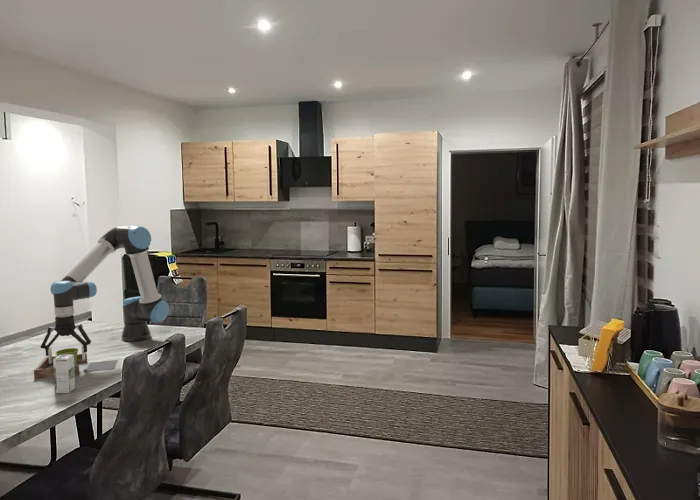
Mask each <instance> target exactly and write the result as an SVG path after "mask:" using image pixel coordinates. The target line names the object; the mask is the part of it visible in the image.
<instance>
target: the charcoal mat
mask: <svg viewBox="0 0 700 500" xmlns="http://www.w3.org/2000/svg"><path fill="white" fill-rule="evenodd" d="M117 362H118V359H116V360H115V359H113V360H103V361H95V362H94V361H93V362H90V363H88V366H87V367H86V369H85V371H84V373H87V372H97V371H98V372H99V371H106V370H114V369H115V368H116V365H117V364H118V363H117Z"/></svg>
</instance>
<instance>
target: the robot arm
mask: <svg viewBox="0 0 700 500" xmlns="http://www.w3.org/2000/svg"><path fill="white" fill-rule="evenodd" d="M151 242H152V235H151V232H150V231H149V229H147V228H146V227H144V226H141V225H140V226H139V225H117V226H115V227H113V228H111V229H110V230H108V231H107V232H106V233H105V234H104V235H102V236H101V237H100V238H99V239H98V240H97V244H96V245H95V246H94V247H93V248H91V250H90V251H89V252H88V253H87V254H86V255H85V256H84V257H83V258H82V259H81V260H80V261H79V262H78V263H77V264H76V265H75V266H74V267H73V268H72V269H71V270H70V271H69V272H68V273H67V274H66V275H65V276H64V277H63V278H62V279H61V280H57V281H54V282H52V284H51V286H50V287H49V288H50V293H51V294H52V296H53V303H54V316H55V317H54V319H55V320H54V321H55V326H51V325H50V326H49V327H48V328H47V333H46V335H45V337H44V339H43V341H42V342H41V345H40V349H44V350H45V357H49V364H50V363H52V356H53V354H52V351H53V350H52V347H51V346H52V345H53V343H54V342H55V341H56V340H57V339H58V337H64V336H65V337H69V336H72V337H73V338H75V339H76V341H77V342H79V343H80V344H81V354H82V361H83V360H85V353H87V352H88V345H91V343H92V340H91V339H90V337H89V335H88V334H87V332H86V331H85V329H84V326H83V324H82V323H80V324H78V325H77V324H75V315H74V314H75V312H74V311H75V310H74V301H78V300H85V299H90V298H93V297H95V296H96V295H97V292H98V290H97V285H96V284H95V283H94V282H93V281H85V280H86V279H87V278H88V277H89V276H90V275H91V274H92V273H93V272H94V270H95V269H97V267H99V265H100V264H101V263H103V262H104V261H105V259H106V258H107V257H108V256H109V255H110V254H114V253H115V252H116V251H117V250H119V249H124V251H125V255H127V256H128V257H129V259H130V262H131V265H132V268H133V274H134V275H135V280H136V283H137V288H138V291H139V294H140V295H139V296H133V297H128V298H125V299H124V300H123V302H122V303H123V304H122V310H123V311H122V312H123V322H124V324H123V325H124V326H123V328H122V332H121V341H123V342H140V341H145V340H148V339H150V338H151V337H152V333H151V330H150V327H149V326H148V322H151V323H161V322H164V320H166V318H167V317H168V314H169V310H170V305H169V303H168V302H167V301H165V300H163V298H162V295H161V294H160V293H159V292H158V289H157V286H156V282H155V279H154V274H153V270H152V267H151V266H152V265H151V262H150V259H149V256H148V251H149V249H150V245H151ZM84 281H85V282H84ZM76 329H77V331H79V333H80V335H81V336H82V337H83V338H82V337H81V336H80V335H79V334H78V333H77V332H76V331H75V330H76ZM54 331H55V332H56V334H55V335H54V337H53V338H51V340H50V341H49V339H50V336H51V333H53V332H54ZM48 341H49V342H48ZM47 342H48V344H47ZM46 344H47V345H46Z"/></svg>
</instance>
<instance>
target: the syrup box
mask: <svg viewBox="0 0 700 500" xmlns="http://www.w3.org/2000/svg"><path fill="white" fill-rule="evenodd" d="M56 356H57V355H56ZM52 368H54V377H53V383H54V384H53V386H54V394H55V395H57V394H56V393H63V394H71V393H72V392H73V391H74V390H75V389H76V375H75V367H74V355H71V354H64V355H59V356H57V357H56V358H54V359H53V365H52Z"/></svg>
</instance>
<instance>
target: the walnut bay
mask: <svg viewBox="0 0 700 500" xmlns="http://www.w3.org/2000/svg"><path fill="white" fill-rule="evenodd" d="M56 357H57V355H52V363H50V364H49V357H48V356H45V357H44V358H43V360H42V361H41V362H40V363H39V364H38V365H37V366H36V367H35V368H34V370H33V377H34V378H33V379H34V380H38V379H37V378H42V379H49V377H52V378H54V367H53V359H54V358H56ZM82 363H88V353H87V352H86V353H85V360H83V361H82V353H77V360H76V365H75V366H74V367H75V376H79V375H80V365H78V364H82ZM49 366H51V367H49Z"/></svg>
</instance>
